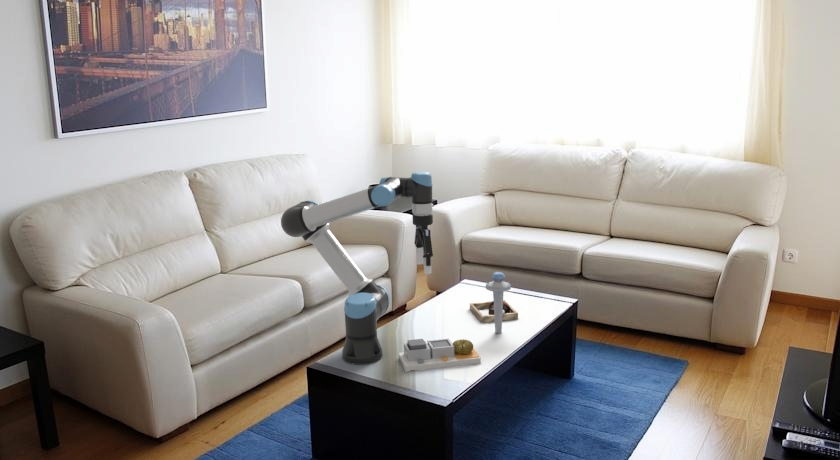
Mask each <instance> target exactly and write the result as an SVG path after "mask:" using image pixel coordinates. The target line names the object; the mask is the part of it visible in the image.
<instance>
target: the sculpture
mask: <svg viewBox="0 0 840 460" xmlns="http://www.w3.org/2000/svg"><path fill="white" fill-rule="evenodd" d="M452 344H453V346H454V352H455V353H457V354H468V353H470V352H471V351H472V350H473V348H474V344H473V343H472V342H471V341H470V340H468V339H466V338H465V339H464V338H463V339H457V340H454V342H452ZM459 346H460V347H459ZM465 346H466V347H465ZM468 346H469V347H468ZM457 348H458V349H457Z"/></svg>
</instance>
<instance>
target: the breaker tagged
mask: <svg viewBox="0 0 840 460" xmlns="http://www.w3.org/2000/svg"><path fill="white" fill-rule="evenodd" d="M431 344H432V345H433V347H434V348H436V347H445V346H450V345H449V344H448V343H447V341H440V342H431Z"/></svg>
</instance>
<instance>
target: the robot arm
mask: <svg viewBox="0 0 840 460" xmlns="http://www.w3.org/2000/svg"><path fill="white" fill-rule="evenodd" d="M400 198H401V199H402V198H403V199H405V198H406V199H410V198H411V211H412V212H411V213H412V224H413V225H414V226H415V235H414V245H415V257H416V258H415V262H416V265H423V274H424V275H431V274H433V273H432V272H433V270H432V269H433V268H432V265H433V264H432V261H433V260H432V257H434V254H433V246H432V237H431V229H429V226H431V225H433V224H434V216H433V207H434V205H435V204H433V181H432V174H431V173H430V172H429V171H415V172H411V175H410V177H394V176H393V177H392V176H387V177H381V178H380V180H379V184H377V185H374V186H371V187H369V188H365V189H362V190H360V191H356V192H354V193H353V192H352V193H351V194H347V195H344V196H342V197H338V198H334V199H332V200H329V201H325V202H323V203H318V201H315V200H304V201H301V202H299V203H297V204H295V205H293V206H291V207H289V208H287V209H286V210H285V211H284V212H283V213H282V215H281V218H280V225H281V226H280V227H281V228H282V230H283V231H284V233H285V234H286V235H288V236H290V237H292V238H301V237H302V239H303V240H304V241H305V242H306V243H311V245H313V247H314V248H315V249H316V251H317V252H318V253H319V255H320V256H321V257H322V258H323V260H324V261H325V262H326V264H327V265H328V267H329V268H330V269H331V270H332V271H333V274H335V275H336V277H338V279H339V280H340V282H341V283H342V284H343V286H344V287H345V289H347V291H348V297H346V299H345V300H344V307H343V310H344V323H345V324H344V326H345V341H344V343H343V348H342V353H341V355H342V360H343V361H344V362H346V363H348V362H349V364H352V363H354V365H366V364H367V365H368V364H372V363H375V362H378V361H379V360H381V359H382V358H383V348H382V345H381V343H380V341H379V338H378V327H377V325H378V324H377V321H378V320H379V319H380V318H381V317H382V316H383V315H385V314H386V312H387V310H388V309H389V306H390V305H391V297H390V293H389V291H388V290H387V289H386V288H385V287H384V286H382V285H379V284H377V283H376V282H375V281H374V279H373V278H368V277H366V276H365V274H364V272H362V269H360V267H359V266H358V265H357V263H356V262H355V261H354V260H353V259H352V257H351V256H350V254H349V253H348V251H346V249H345V248H344V246H342V244H341V243H340V241H339V240H338V239H337V238H336V236H335V235H334V234H333V233H332V231H331V230H330V225H331V224H330V223H333V222H337V221H340V220H342V219H345V218H349V217H352V216H354V215H355V216H356V215H358V214H361V213H364V212H367V211H369V210H373V209H376V208H380V207H386V206H389V205H391V204H392V203H393V202H395V201H396V200H397V199H400Z"/></svg>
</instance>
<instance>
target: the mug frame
mask: <svg viewBox="0 0 840 460" xmlns="http://www.w3.org/2000/svg"><path fill="white" fill-rule="evenodd" d="M492 301H493V300H492ZM492 301H481V302H474V303H473V302H472V303H469V310H470V309H471V310H470V311H471V312H472V313H473V315H475V317H477V319H478V320H479V321H480V322H481V323H490V322H495V318H494V315H489V314H486V315H483V314H482V313H481V312H480V309H482V310H483V309H488V308H489V307H488V306H489V304H490V303H491V302H492ZM503 301H504V302H506V303H507V304H508V305H509V307H510V309H511V313H502V321H508V320H516V319H517V320H518V319H519V312H518V311H517V310H516V309H514V308H513V307H512V306H511V305H510V304H509V303H508V302H507V301H506V300H505V299H503ZM491 307H492V308H494V305H492V306H491Z"/></svg>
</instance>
